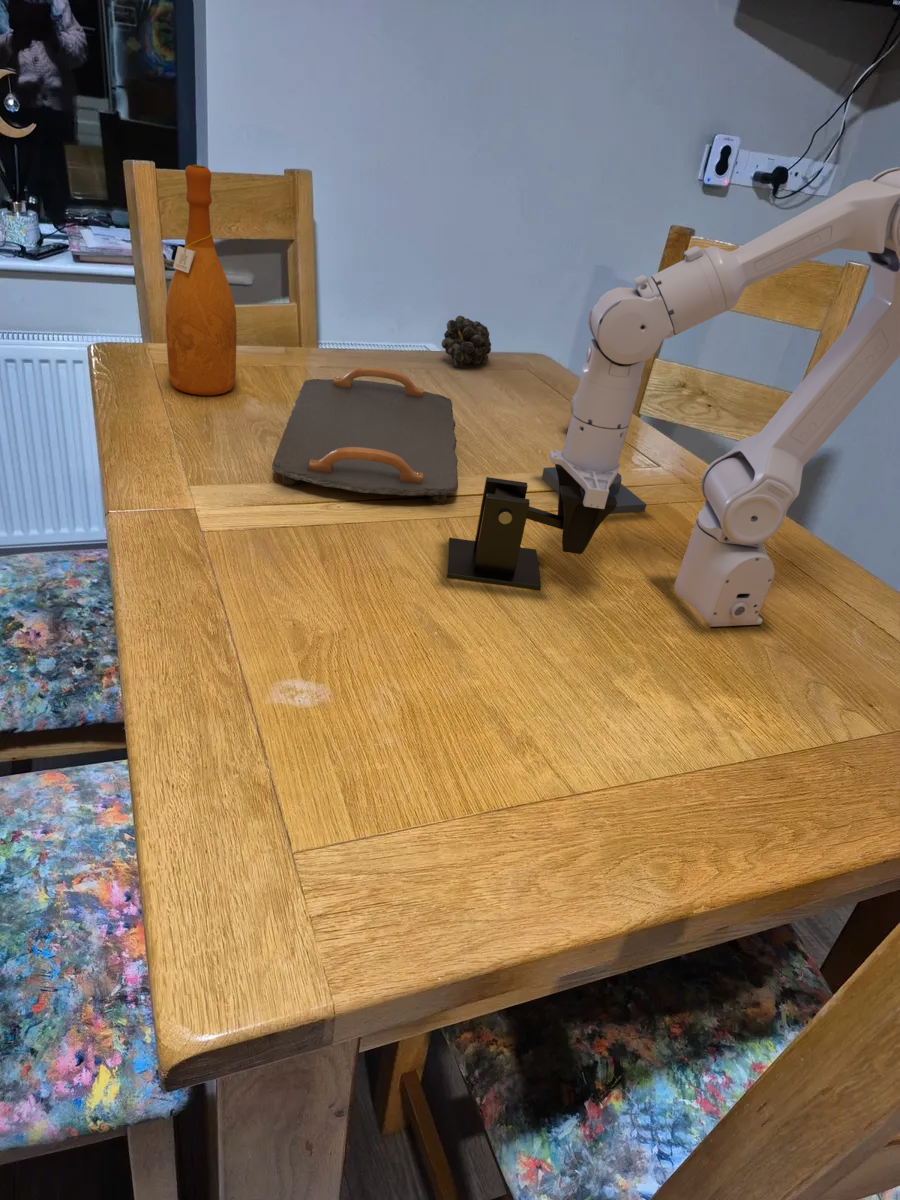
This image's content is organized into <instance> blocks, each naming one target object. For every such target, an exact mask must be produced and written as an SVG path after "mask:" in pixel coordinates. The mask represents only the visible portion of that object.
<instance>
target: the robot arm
mask: <svg viewBox="0 0 900 1200" xmlns="http://www.w3.org/2000/svg"><path fill="white" fill-rule="evenodd" d="M837 249H843V250H851V251H859V252H866V253H867V255H868V256H869V259H870V267H871V276H872V277H871V278H872V284H873V294H872V296H871V297H870V298H869V300H867V302H866V303H865V305H864V306H863V307H862V308H861V309H860V311H858V313H857V314H856V316H855V317H854V318H853V319H852V320H851V322H850V323H849V324H848V325H847V326H846V327H845V329H844V330H843V331H842V333H841V334H840V335H839V336H838V337H837V338H836V339H835V341H834V342H833V343H832V344H831V346H830V347H829V348H828V349H827V350H826V352H825V353H823V356H822V357H821V358H820V359H819V360H818V362H817V363H816V364H815V365H814V366H813V368H812V369H811V370H810V371H809V372H808V374H807V375H806V376H805V377H804V379H803V380H802V381H801V382H800V383H799V384H798V386H797V387H796V388H795V389H794V390H793V392H792V393H791V394H790V395H789V397H787V399H786V400H785V401H784V403H783V404H782V405H781V406H780V408H779V409H778V410H777V411H776V412H775V414H774V415H772V417H771V418H770V420H769V421H768V422H767V423H766V424H765V426H764V427H763V428H762V430H760V432H757V433H755V434H752V435H749V436H747V437H744V438H742V439H740V440H738V442H737V443H736V444H735V446H733V448H732V449H731V450H730V451H728V452H726V453H725V454H723V455H722V456H719V457H718V458H716V459H715V460H713V461H712V462H710V463H709V464H708V466H707V467H706V469H705V470H704V471H703V473H702V477H701V480H700V489H701V490H700V491H701V493H702V495H703V497H704V499H705V501H704V504H703V507H702V508H701V509H700V511H698V514H697V517H696V519H695V522H694V526H693V529H692V531H691V535H690V537H689V541H688V543H687V547H686V550H685V552H684V555H683V558H682V561H681V563H680V567H679V570H678V573H677V576H676V578H675V581H674V584H673V588H674V591H675V593H676V594H677V596H678V597H679V598H680V599H682V600H683V601H684V602H685V603H687V604H688V605H690V607H692V608H694V610H695V611H696V612H697V613H698V614H699V615H700V616H701V617H702V619H703V620H704V621H705V622H707V624H708V625H709V627H711V628H712V627H713V628H714V627H715V628H716V627H732V626H734V627H735V626H754V625H757V626H758V625H761V624H762V623H763V619H762V617H760V612H761V610H762V608H763V606H764V603H765V600H766V598H767V595H768V593H769V591H770V588H771V586H772V583H773V581H774V578H775V573H776V572H775V571H776V570H775V565H774V563H773V561H772V560H771V558H770V556H769V555H768V553H767V550H766V547H765V546H766V545H765V542H766V541H768V540H769V539H771V538H772V537H774V535H776V534H777V533H778V531H779V530H780V529H781V528H782V526H783V524H784V522H785V519H786V515H787V512H788V509H790V506H791V505H792V503H793V502H794V501H795V500H796V499H797V497H799V495H800V491H801V486H802V476H803V470H804V467H805V466H806V464H807V463H808V462H809V460H810V459H811V458H812V457H813V456H814V455H815V454H816V452H818V450H819V449H820V448H821V447H822V446H823V445H824V443H826V442H827V440H828V438H830V436H832V434H833V433H834V432H835V431H836V430H837V428H838V427H839V426H840V425H841V424H842V423H843V422H844V421H845V419H846V418H847V417H848V416H849V415H850V414H851V412H853V410H854V409H855V408H856V407H857V406H858V404H859V403H861V401H862V400H863V399H864V397H866V395H867V394H868V393H869V392H870V391H871V390H872V389H873V387H874V386H876V384H877V383H878V382H879V381H880V380H881V379H882V377H883V376H884V375H885V374H886V373H887V372H888V371H889V369H890V368H891V367H892V366H893V365H894V364H895V362H896V361H897V360H898V359H899V358H900V167H899V166H898V167H891V168H888V169H886V170H883V171H881V172H879V173H878V174H876V175H874V176H872V178H870V179H863V180H860V181H857V182H854V183H851V184H850V185H848V186H846V187H845V188H844V189H842V190H841V191H839V192H837V193H836V194H834V195H832V196H831V197H828V198H827V199H825V200H823V201H822V202H820V203H818V204H816V205H814V206H812V207H811V208H809V209H807V210H805V211H803V212H802V213H800V214H798V215H796V216H794V217H792V218H791V219H788V220H787V221H784V223H782V224H779V225H778V226H776V227H774V228H772V229H770V230H769V231H767V232H765V233H763V234H761V235H759V236H758V237H756V238H754V239H752V240H750V241H749V242H747V243H745V244H743V245H740V247H737V248H736V249H734V250H732V251H729V250H728V251H727V250H724V249H722V248H720V247H717V246H715V245H714V246H712V245H711V246H708V247H707V248H705V249H703V250H702V248H701V247H699V246H698V245H695V246H692V247H691V248H689V249H687V250H685V251H684V252H683V256H684V259H682V260H680V261H679V262H677V263H675V264H672V265H670V266H668V267H667V268H664V269H662V270H660V271H658V272H655V273H654V274H651V276H648V277H646V275H645V274H641V275H639V276H637V277H635V278H634V279H633V283H634V288H633V287H630V286H629V287H628V286H627V287H624V286H619V287H614V288H613V289H610V290H608V291H606V292H605V293H604V294H603V295H601V296H600V297H599V298H598V301H597V303H596V302H595V304H594V306H593V308H592V310H590V311H589V312H588V327H589V331H590V333H591V335H592V337H593V338H592V339H590V342H589V346H588V348H587V352H586V355H585V356H586V359H585V362H584V364H583V366H582V367H581V373H580V377H579V381H578V386H577V389H578V390H577V389H576V391H577V394H576V398H575V402H574V406H573V411H572V415H571V414H570V415H571V416H570V420H569V423H568V427H569V428H568V427H567V433H566V436H565V441H564V444H563V449H562V450H556V449H555V450H553V449H552V450H551V451H550V453H549V462H550V463H552V464H554V467H556V470H557V474H558V484H559V495H558V501H557V515H559V516H562V517H564V525H563V530H562V535H561V546H562V547H561V548H562V552H563V553H569V554H576V555H583V553H584V552H585V551H586V549H587V547H588V545H589V543H591V540H592V538H593V537H594V534H595V533H596V531H597V529H598V528H599V527H600V525H601V524H602V522H603V521H604V520H605V519H606V518H607V517H608V516H609V515H611V514H610V513H611V512H613V511H614V509H615V508H616V505H617V501H616V498H615V497H614V496H608V494H609V487H610V485H611V484H612V482H613V480H614V479H615V477H616V475H617V474H618V473H619V471H620V466H621V465H620V460H621V459H620V458H621V456H622V452H623V449H624V445H625V442H626V438H627V434H628V432H629V431H628V430H629V427H630V423H631V419H632V416H633V412H634V410H635V405H636V402H637V399H638V395H639V391H640V387H641V383H642V376H643V372H644V369H645V365H646V361H648V360H650V359H651V358H652V357H653V356H654V355H655V354H656V352H657V351H658V350H659V348H660V346H661V344H662V342H664V340H665V339H670V338H673V337H675V336H677V335H679V334H682V333H683V332H685V331H687V330H689V329H691V328H694V327H696V326H698V325H700V324H702V323H704V322H707V321H708V320H710V319H713V318H716V316H719V315H722V314H724V313H726V312H727V311H730V310H732V309H734V308H735V307H736V305H737V304H738V302H739V301H740V298H741V296H742V294H743V293H744V290H745V289H746V288H747V287H749V286H751V285H754V284H756V283H758V282H760V281H763V280H765V279H768V278H770V277H772V276H775V275H777V274H779V273H781V272H785V271H787V270H790V269H791V268H794V267H796V266H799V265H801V264H803V263H805V262H808V261H810V260H813V259H815V258H817V257H820V256H822V255H824V254H827V253H829V252H832V251H833V250H837Z"/></svg>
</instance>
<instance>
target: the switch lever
mask: <svg viewBox="0 0 900 1200" xmlns="http://www.w3.org/2000/svg"><path fill="white" fill-rule="evenodd" d="M493 494H496V495H503V496H510V497H517V498H521V497H520V495H519V494H516V493H512V492H509V491H506V490H503V489H500V488H495V490H494V493H493ZM526 520H530V521H533V522H536V523H538V524H539V523H540V524H543V525H546V526H549V527H552V528H556V529H559V530H562V531H563V525H564V517H562V516H559V515H558V514H557V513H556V514H555V513H553V512H549V511H545V510H542V509H539V508H536V507H534V506H530V505H529V509H528V513H527V518H526Z"/></svg>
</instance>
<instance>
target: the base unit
mask: <svg viewBox="0 0 900 1200" xmlns="http://www.w3.org/2000/svg"><path fill="white" fill-rule="evenodd" d="M541 480H543V482H544V483H546V484H547V486H549V488H551V489H552V490H553V491H554V492H555V493H556V494H557V495H558V496H559V484H558V474H557V470H556V467H555V466H554V467H553V466H550V467H543V471H542V475H541ZM608 496H614V497H615V498H616V501H617V505H616V508H615V509H614V511H613V512H611V513H610V514H609V515H615V514H629V513H644V512H645V511H646V507H647V503H646V502H644V501H643V500H642V499H641V498H639V497H638V496H637V495H636V494H634V493H633V491H631V490H630V489H629V488H628V487H626V485H624V484H623V483H622V474H620V472H618V474H617V475H616V477H615V479H614V480H613V482H612V484H611V485H610V487H609V494H608Z"/></svg>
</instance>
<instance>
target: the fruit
mask: <svg viewBox="0 0 900 1200" xmlns="http://www.w3.org/2000/svg"><path fill="white" fill-rule="evenodd" d="M446 329H447V330H446V331H445V332H444V333H443V336H444V338H443V339H442V341H441V347H442V349H444V351H445V354H446V355H449V356H450V358H451V359H452V360H453V361H454V366H455V367H458V368H461V367H463V366H464V364H466V365H467V364H470V363H471V362H472V363H473V364H476V365H477V364H480V363H486V362H487V361H488V359H489V354H490V353H491V351H492V343H491V340H490V331H489V329H488V326H486V325H484V324H483V323H481V322H480V321H477V320H475V321H473V320H471V319H470V318H465V316H463V315H457V316H456V318H455V320H454V319H450V320H447V323H446Z"/></svg>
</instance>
